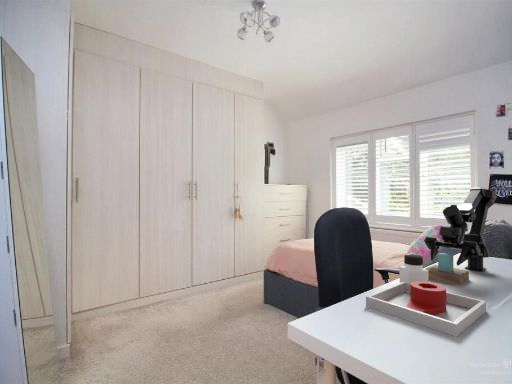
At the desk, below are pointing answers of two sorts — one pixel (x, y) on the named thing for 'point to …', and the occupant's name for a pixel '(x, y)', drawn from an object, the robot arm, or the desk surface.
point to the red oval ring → (427, 297)
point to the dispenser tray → (425, 319)
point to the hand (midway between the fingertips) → (444, 262)
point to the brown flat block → (448, 275)
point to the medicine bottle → (413, 269)
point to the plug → (445, 262)
